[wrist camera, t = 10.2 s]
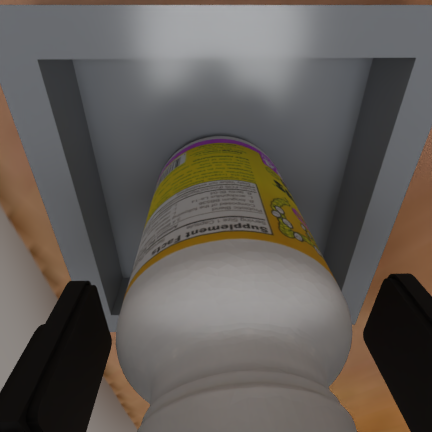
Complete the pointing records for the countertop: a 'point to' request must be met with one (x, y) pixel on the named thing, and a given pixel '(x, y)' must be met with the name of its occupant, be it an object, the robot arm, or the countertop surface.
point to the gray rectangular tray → (218, 117)
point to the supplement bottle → (232, 302)
